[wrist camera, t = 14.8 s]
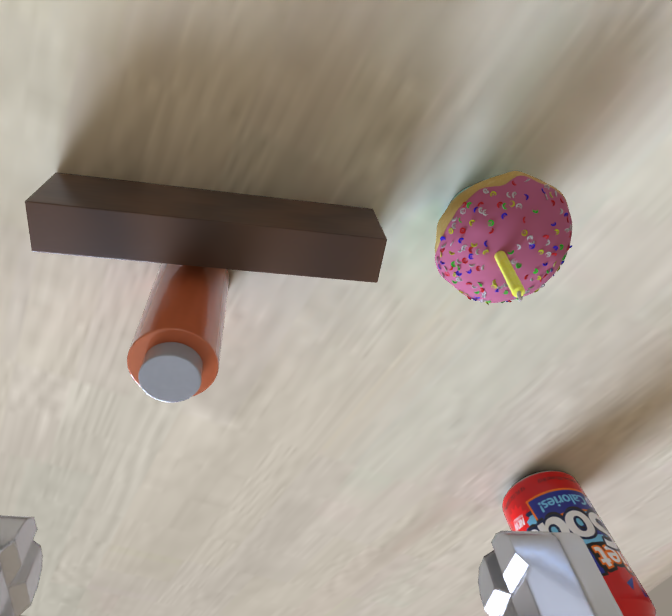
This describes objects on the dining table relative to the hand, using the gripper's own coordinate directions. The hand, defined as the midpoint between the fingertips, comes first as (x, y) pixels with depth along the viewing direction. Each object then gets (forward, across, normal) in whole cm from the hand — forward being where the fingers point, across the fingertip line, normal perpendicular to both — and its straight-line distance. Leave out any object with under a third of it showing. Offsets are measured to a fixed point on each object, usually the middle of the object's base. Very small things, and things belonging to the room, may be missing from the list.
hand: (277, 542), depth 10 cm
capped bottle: (+28, +5, +11) cm, 30 cm away
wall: (+28, +3, +6) cm, 28 cm away
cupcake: (+28, -14, +4) cm, 32 cm away
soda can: (+28, -29, +32) cm, 51 cm away
